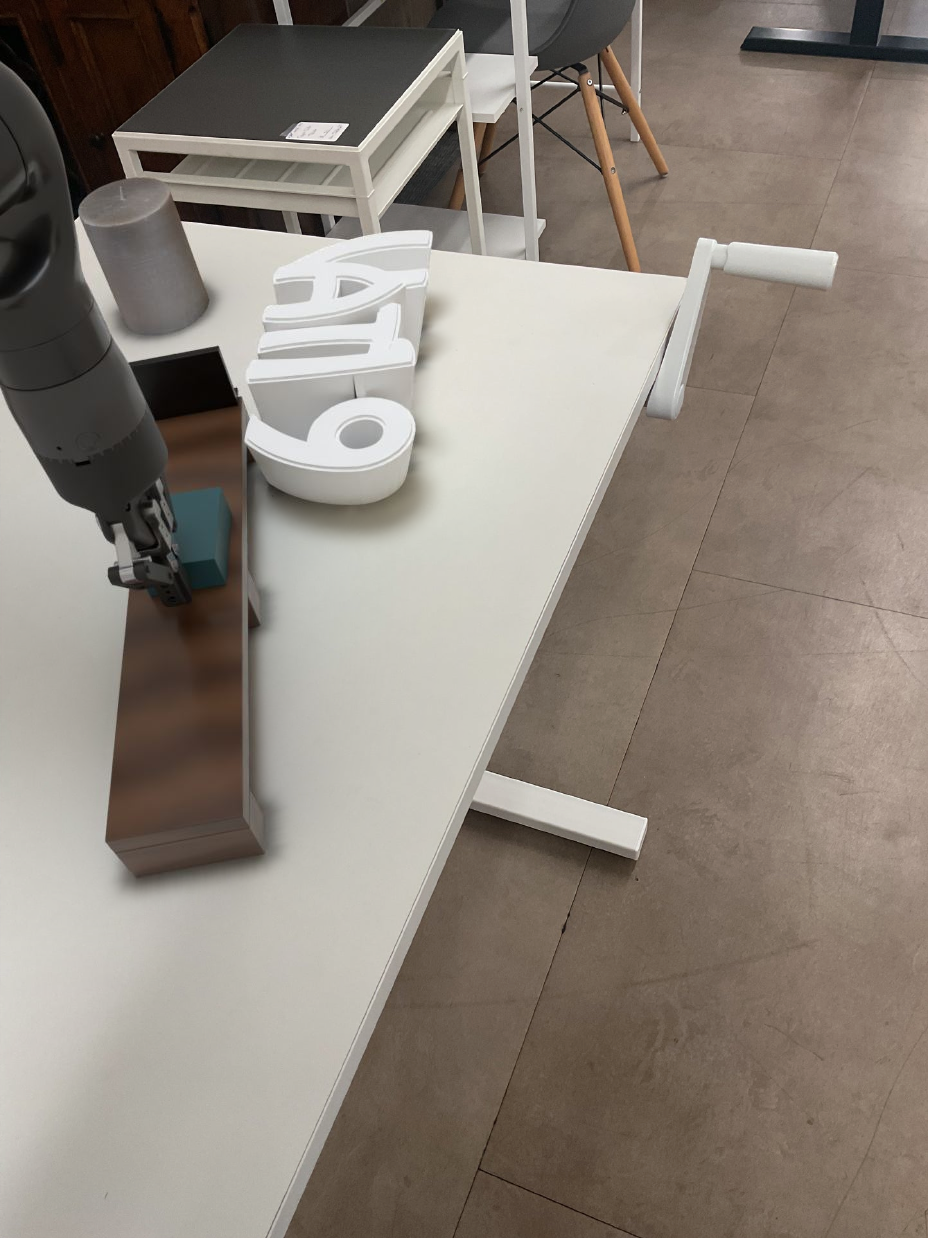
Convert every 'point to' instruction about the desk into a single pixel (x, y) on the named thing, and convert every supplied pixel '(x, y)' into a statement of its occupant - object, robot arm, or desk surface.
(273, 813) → the desk surface
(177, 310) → the pillar candle
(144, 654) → the shelf
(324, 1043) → the desk surface
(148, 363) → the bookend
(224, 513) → the teal rectangular block
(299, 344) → the white numeral sign
